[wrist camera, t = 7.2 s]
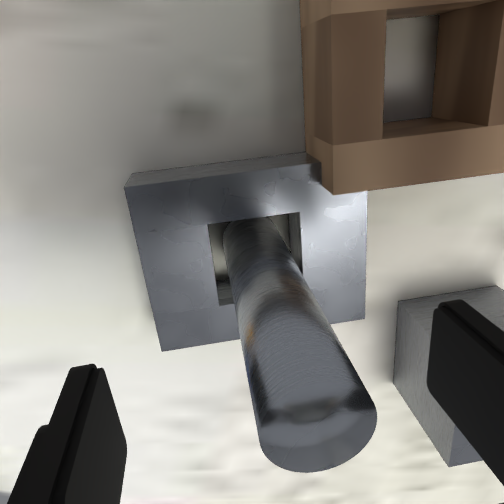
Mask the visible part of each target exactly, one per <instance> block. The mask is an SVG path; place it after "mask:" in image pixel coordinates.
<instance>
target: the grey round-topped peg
mask: <svg viewBox="0 0 504 504" xmlns="http://www.w3.org/2000/svg"><path fill="white" fill-rule="evenodd" d="M223 247H224V252H225V258H226V263H227V269H228V274H229V279H230V285H231V290H232V296H233V301H234V307H235V312H236V317H237V323H238V328H239V334H240V339H241V344H242V350H243V355H244V361H245V366H246V371H247V377H248V382H249V388H250V393H251V398H252V404H253V409H254V415H255V420H256V425H257V431H258V436H259V441H260V446H261V448H262V451H263V453H264V454H265V456H266V457H267V458H268V459H269V460H270V461H271V462H273V463H274V464H275V465H277V466H279V467H281V468H283V469H286V470H290V471H294V472H304V473H308V472H318V471H323V470H327V469H330V468H333V467H336V466H338V465H341V464H343V463H345V462H346V461H348V460H350V459H351V458H353V457H354V456H355V455H357V454H358V453H359V452H360V451H361V450H362V449H363V448H364V447H365V446H366V444H367V443H368V442H369V440H370V439H371V437H372V435H373V433H374V431H375V428H376V423H377V412H376V407H375V405H374V403H373V401H372V399H371V397H370V395H369V394H368V392H367V390H366V388H365V386H364V385H363V383H362V381H361V379H360V377H359V376H358V374H357V372H356V370H355V368H354V367H353V365H352V363H351V361H350V359H349V358H348V356H347V354H346V352H345V350H344V349H343V347H342V345H341V343H340V342H339V340H338V338H337V336H336V334H335V333H334V331H333V329H332V327H331V325H330V324H329V322H328V320H327V318H326V316H325V315H324V313H323V311H322V309H321V307H320V306H319V304H318V302H317V300H316V299H315V297H314V295H313V293H312V291H311V290H310V288H309V286H308V284H307V282H306V281H305V279H304V277H303V275H302V273H301V272H300V270H299V268H298V266H297V264H296V263H295V261H294V259H293V257H292V255H291V254H290V252H289V250H288V248H287V247H286V245H285V243H284V241H283V239H282V238H281V236H280V234H279V232H278V230H277V229H276V227H275V225H274V224H273V222H272V221H271V220H270V219H268V218H267V217H258V218H250V219H243V220H236V221H231V222H230V223H229V224H228V226H227V227H226V229H225V231H224V234H223Z"/></svg>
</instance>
